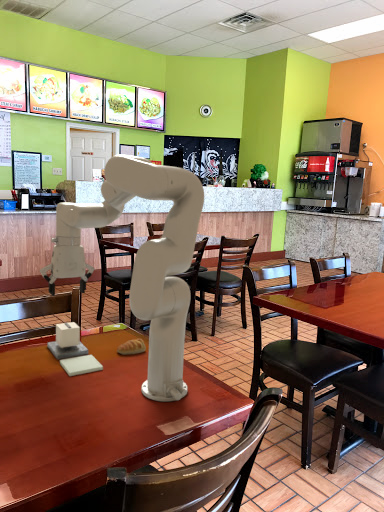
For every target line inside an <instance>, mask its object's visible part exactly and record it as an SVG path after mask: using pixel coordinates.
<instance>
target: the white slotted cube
mask: <svg viewBox="0 0 384 512" xmlns="http://www.w3.org/2000/svg"><path fill="white" fill-rule="evenodd" d="M80 330H81V327H80V326H79V325H78V323H76V322H74V321H72V322H63V323H56V324H55V341H56V342H57V344H58V345H59V346H60V347H61V348H63V347H69V346H76V345H79V342H81V340H80V339H81V338H80V337H81V336H80V333H81V332H80Z"/></svg>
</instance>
